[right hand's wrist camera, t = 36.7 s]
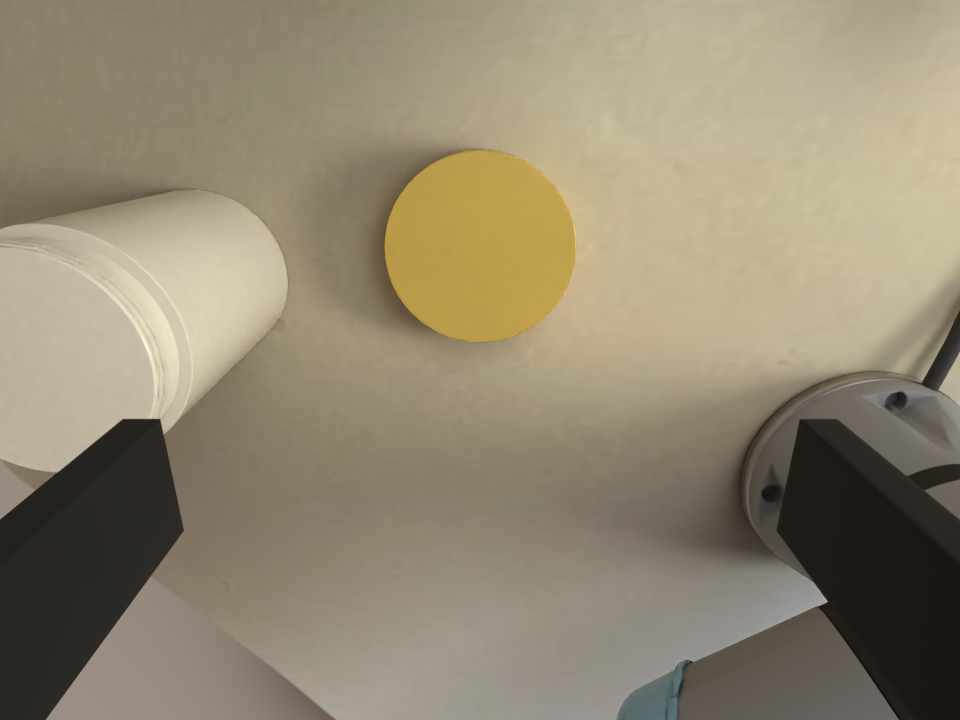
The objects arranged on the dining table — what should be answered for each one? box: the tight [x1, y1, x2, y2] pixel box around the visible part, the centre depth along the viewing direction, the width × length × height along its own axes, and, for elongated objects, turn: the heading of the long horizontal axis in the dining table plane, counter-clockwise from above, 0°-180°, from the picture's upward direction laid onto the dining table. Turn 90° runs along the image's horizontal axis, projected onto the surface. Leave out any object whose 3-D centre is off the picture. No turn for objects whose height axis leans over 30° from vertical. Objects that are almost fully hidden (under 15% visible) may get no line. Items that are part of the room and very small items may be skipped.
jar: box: [0, 189, 288, 472], centre depth 30 cm, size 10×10×16 cm
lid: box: [384, 149, 576, 342], centre depth 36 cm, size 11×11×2 cm
